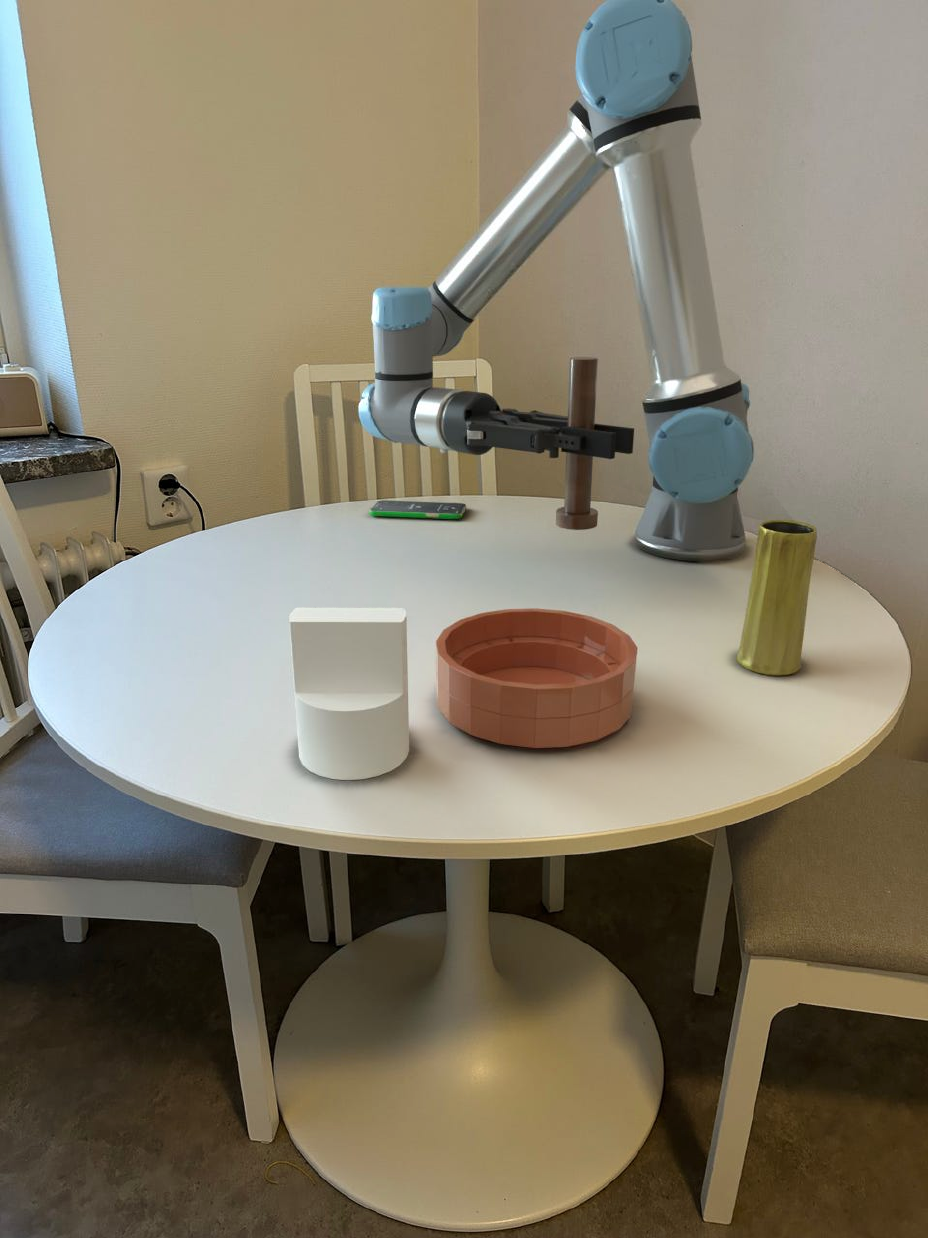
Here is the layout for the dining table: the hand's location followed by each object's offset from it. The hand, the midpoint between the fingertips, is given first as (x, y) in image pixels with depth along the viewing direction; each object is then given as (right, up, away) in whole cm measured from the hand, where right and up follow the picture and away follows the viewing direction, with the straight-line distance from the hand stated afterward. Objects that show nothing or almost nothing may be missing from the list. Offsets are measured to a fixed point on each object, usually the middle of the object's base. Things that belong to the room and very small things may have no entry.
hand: (622, 443), depth 95 cm
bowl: (-11, -27, -15) cm, 33 cm away
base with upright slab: (-26, -30, -23) cm, 46 cm away
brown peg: (-4, -8, +7) cm, 11 cm away
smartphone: (-25, -2, +47) cm, 53 cm away
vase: (+13, -24, -6) cm, 28 cm away
